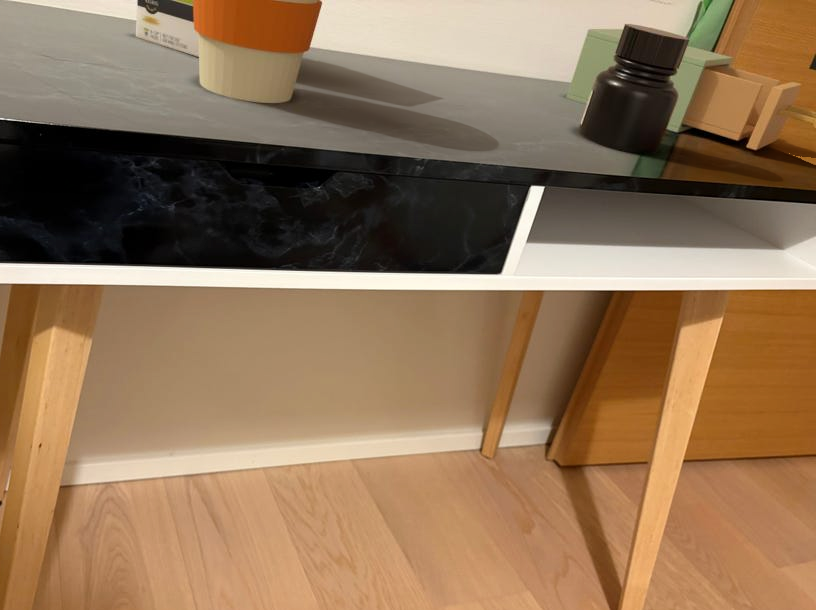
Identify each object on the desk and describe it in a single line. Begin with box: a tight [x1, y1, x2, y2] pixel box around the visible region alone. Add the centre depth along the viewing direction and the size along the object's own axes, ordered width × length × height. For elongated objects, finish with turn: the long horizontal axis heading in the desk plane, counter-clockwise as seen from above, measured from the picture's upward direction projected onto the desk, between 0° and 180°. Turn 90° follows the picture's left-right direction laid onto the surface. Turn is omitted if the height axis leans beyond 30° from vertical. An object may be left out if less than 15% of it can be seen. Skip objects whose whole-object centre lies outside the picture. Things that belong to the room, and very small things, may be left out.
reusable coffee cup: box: [193, 0, 323, 104], centre depth 75 cm, size 13×13×15 cm
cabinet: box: [566, 28, 734, 134], centre depth 108 cm, size 16×14×9 cm
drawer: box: [683, 65, 816, 151], centre depth 102 cm, size 20×12×7 cm, turn 52°
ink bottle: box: [578, 23, 690, 156], centre depth 87 cm, size 10×9×12 cm
